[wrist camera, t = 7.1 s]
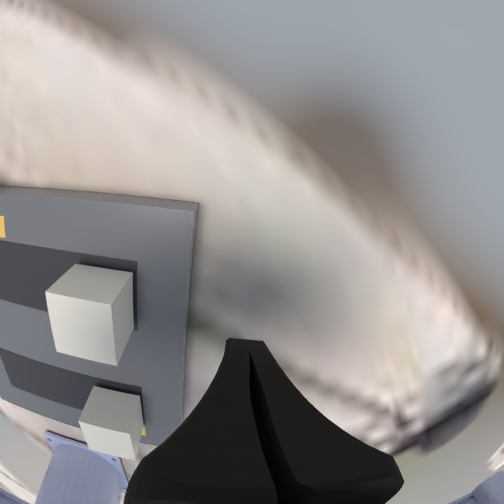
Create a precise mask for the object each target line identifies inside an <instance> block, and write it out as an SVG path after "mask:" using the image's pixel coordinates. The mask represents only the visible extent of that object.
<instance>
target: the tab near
mask: <svg viewBox="0 0 504 504" xmlns="http://www.w3.org/2000/svg"><path fill="white" fill-rule="evenodd" d="M45 294H46V300H47V307H48V312H49V318H50V323H51V328H52V333H53V338H54V343H55V347H56V351H57V352H60V353H64V354H68V355H71V356H75V357H79V358H83V359H87V360H92V361H96V362H100V363H105V364H109V365H114V366H117V365H118V363H119V360H120V358H121V356H122V353H123V351H124V349H125V346H126V344H127V342H128V340H129V337H130V335H131V333H132V331H133V329H134V319H133V273H132V272H125V271H119V270H112V269H106V268H99V267H93V266H87V265H81V264H75V265H74V266H72V267H71V268H70V269H69V270H68V271H67V272H66V273H65V274H64V275H62V276H61V277H60V278H59V279H58V280H57V281H56V282H55V283H54V284H53V285H52V286H51V287H50V288H48V289H47V290H46V291H45Z"/></svg>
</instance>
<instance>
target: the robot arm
mask: <svg viewBox="0 0 504 504" xmlns="http://www.w3.org/2000/svg"><path fill="white" fill-rule="evenodd" d="M44 436H45V438H46V440H47V442H48V444H49V445H50V447H51V449H52V451H53V452H54V454H53V456H52V459H51V461H50V464H49V466H48V469H47V472H46V474H45V477H44V480H43V482H42V485H41V488H40V491H39V494H38V496H37V499H36V502H35V504H120V499H121V494H122V492H125V499H124V504H385V503H386V502H387V501H388V500H390V499H391V498H392V497H393V496H394V495H395V494H396V493H397V492H398V491H399V490H400V489H401V488H402V485H403V483H404V480H403V477H402V475H401V473H400V470H399V468H398V466H397V464H396V462H395V460H394V458H393V456H391V455H388V454H386V453H384V452H382V451H380V450H377V449H375V448H373V447H371V446H369V445H367V444H365V443H363V442H362V441H360V440H358V439H357V438H355V437H353V436H351V435H350V434H348V433H347V432H345V431H344V430H342V429H341V428H340V427H338V426H337V425H335V424H334V423H333V422H331V421H330V420H329V419H328V418H326V417H325V416H324V415H323V414H322V413H320V412H319V411H318V410H317V409H316V408H315V407H314V406H313V405H312V404H311V403H310V402H309V401H308V400H307V399H306V398H305V397H304V396H303V395H302V394H301V393H300V392H299V390H298V389H297V388H296V387H295V386H294V385H293V383H292V382H291V381H290V380H289V378H288V377H287V376H286V374H285V373H284V372H283V370H282V369H281V367H280V366H279V365H278V363H277V362H276V360H275V359H274V357H273V356H272V354H271V352H270V351H269V349H268V348H267V346H266V344H265V343H264V342H263V341H257V340H245V339H235V338H229V339H227V340H226V346H225V353H224V356H223V359H222V362H221V364H220V366H219V369H218V371H217V373H216V375H215V377H214V379H213V381H212V382H211V384H210V386H209V388H208V390H207V391H206V393H205V394H204V396H203V397H202V399H201V400H200V402H199V403H198V405H197V406H196V407H195V409H194V410H193V411H192V412H191V414H190V415H189V416H188V417H187V418H186V420H185V421H184V422H183V423H182V424H181V425H180V426H179V427H178V428H177V429H176V430H175V431H174V432H173V433H172V434H171V435H170V436H169V437H168V438H167V439H166V440H165V441H164V442H163V443H162V444H160V445H159V446H158V447H157V448H155V449H154V450H153V451H152V452H150V453H149V454H148V455H147V456H145V457H144V458H143V459H142V460H141V462H140V463H139V465H138V467H137V468H136V470H135V472H134V473H133V475H132V477H131V479H130V481H129V484H128V481H127V478H126V475H125V473H124V470H123V467H122V464H121V461H120V458H119V457H117V456H113V455H109V454H105V453H101V452H97V451H93V450H90V449H89V447H88V445H87V444H83V443H80V442H77V441H74V440H70V439H67V438H64V437H61V436H59V435H56V434H53V433H50V432H47V431H45V433H44ZM0 504H30V503H28V502H26V501H24V500H22V499H20V498H18V497H16V496H14V495H12V494H10V493H8V492H6V491H4V490H3V489H1V488H0ZM449 504H504V472H503V471H499V472H498V473H496V474H494V475H493V476H491V477H489V478H488V479H486V480H485V481H483V482H482V483H481V484H479V485H478V486H477V487H476V488H475V489H474V490H473V491H472V492H471V493H469V494H467V495H465V496H463V497H461V498H459V499H457V500H455V501H454V502H451V503H449Z"/></svg>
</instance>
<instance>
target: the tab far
mask: <svg viewBox="0 0 504 504" xmlns="http://www.w3.org/2000/svg"><path fill="white" fill-rule="evenodd" d="M78 422H79V424H80V427H81V430H82V432H83V435H84V437H85V440H86V442H87V445H88V447H89V449H90V450H93V451H97V452H101V453H105V454H109V455H113V456H117V457H121V458H126V459H130V460H135V461H136V457H137V453H138V448H139V443H140V439H141V434H142V430H143V417H142V409H141V401H140V396H138V395H133V394H128V393H123V392H118V391H113V390H109V389H104V388H100V387H96V386H93V388H92V391H91V393H90V395H89V397H88V400H87V402H86V404H85V406H84V409H83V411H82V413H81V416H80V418H79V420H78Z"/></svg>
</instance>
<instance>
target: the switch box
mask: <svg viewBox="0 0 504 504" xmlns="http://www.w3.org/2000/svg"><path fill="white" fill-rule="evenodd" d="M198 204H199V203H194V202H186V201H177V200H168V199H160V198H150V197H141V196H131V195H121V194H110V193H99V192H87V191H74V190H61V189H46V188H30V187H11V186H0V396H1V398H2V399H4V400H6V401H8V402H10V403H13V404H15V405H17V406H20V407H22V408H24V409H27V410H29V411H32V412H35V413H37V414H40V415H42V416H45V417H48V418H51V419H54V420H56V421H59V422H62V423H65V424H69V425H72V426H75V427H78V428H81V427H80V424H79V422H78V420H79V418H80V416H81V413H82V411H83V409H84V406H85V404H86V402H87V400H88V397H89V395H90V393H91V391H92V388H93V386H96V387H100V388H104V389H109V390H113V391H118V392H123V393H128V394H133V395H138V396H140V401H141V409H142V417H143V430H142V434H141V439H140V443H145V444H150V445H156V446H159V445H160V444H162V443H163V442H164V441H165V440H166V439H167V438H168V437H169V436H170V435H171V434H172V433H173V432H174V431H175V430H176V429H177V428H178V427H179V426H180V425H181V424H182V423H183V405H184V375H185V353H186V335H187V320H188V306H189V293H190V281H191V269H192V259H193V249H194V239H195V230H196V221H197V212H198ZM75 264H81V265H87V266H93V267H99V268H106V269H112V270H119V271H125V272H132V273H133V319H134V329H133V331H132V333H131V335H130V337H129V340H128V342H127V344H126V346H125V349H124V351H123V353H122V356H121V358H120V360H119V363H118V365H117V366H114V365H109V364H105V363H100V362H96V361H92V360H87V359H83V358H79V357H75V356H71V355H68V354H64V353H60V352H57V351H56V347H55V343H54V338H53V333H52V328H51V323H50V318H49V312H48V307H47V300H46V294H45V291H46V290H47V289H48V288H50V287H51V286H52V285H53V284H54V283H55V282H56V281H57V280H58V279H59V278H60V277H61V276H62V275H64V274H65V273H66V272H67V271H68V270H69V269H70V268H71V267H72V266H74V265H75Z"/></svg>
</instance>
